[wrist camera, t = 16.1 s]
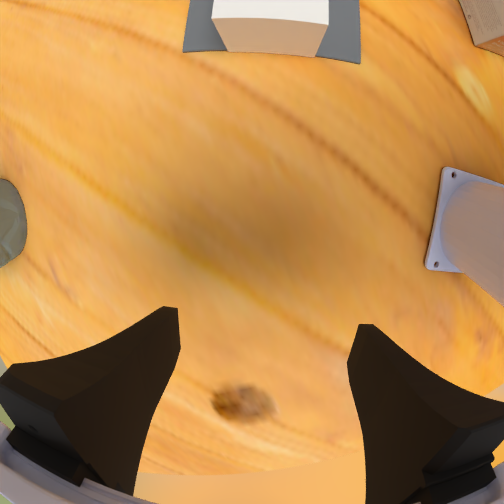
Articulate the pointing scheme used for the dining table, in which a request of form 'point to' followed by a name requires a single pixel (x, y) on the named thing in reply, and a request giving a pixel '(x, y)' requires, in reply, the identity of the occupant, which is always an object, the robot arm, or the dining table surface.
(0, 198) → the grey green tumbler
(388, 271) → the dining table surface
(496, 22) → the small box
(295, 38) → the white rectangular block
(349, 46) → the thin grey square plate
